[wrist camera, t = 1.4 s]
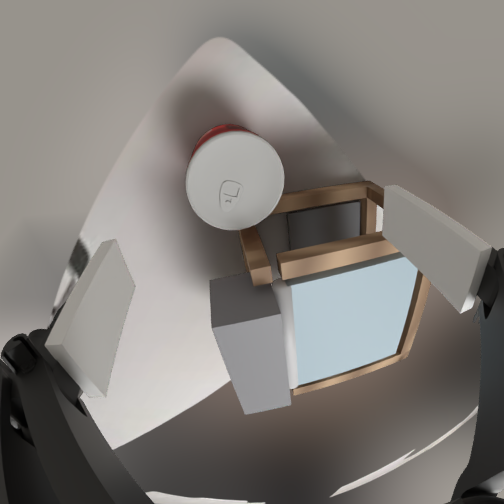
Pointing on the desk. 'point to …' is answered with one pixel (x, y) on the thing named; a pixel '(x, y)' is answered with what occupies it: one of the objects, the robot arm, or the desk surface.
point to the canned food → (233, 178)
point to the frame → (333, 252)
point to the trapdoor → (308, 325)
